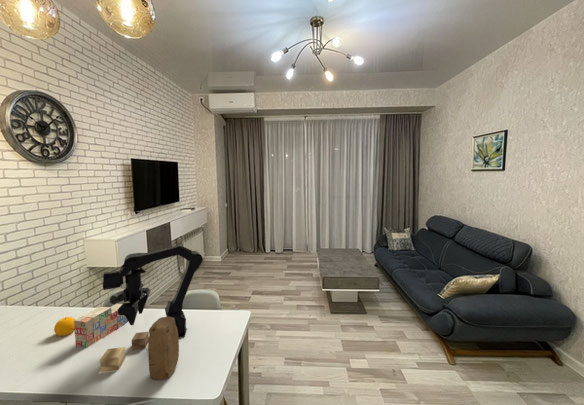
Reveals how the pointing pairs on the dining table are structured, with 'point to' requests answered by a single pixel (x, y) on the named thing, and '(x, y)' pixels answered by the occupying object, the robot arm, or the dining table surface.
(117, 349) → the oak base block
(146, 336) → the walnut cube
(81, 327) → the stack of blocks
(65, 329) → the orange
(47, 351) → the dining table surface
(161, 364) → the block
